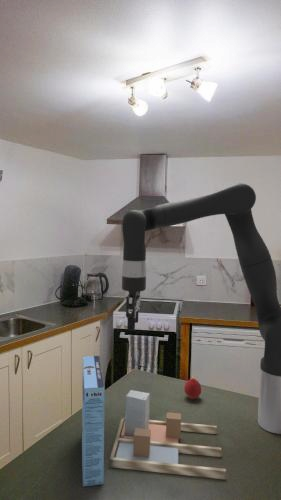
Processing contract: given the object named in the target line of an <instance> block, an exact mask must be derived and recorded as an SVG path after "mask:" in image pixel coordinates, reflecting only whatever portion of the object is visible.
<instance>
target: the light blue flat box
mask: <svg viewBox="0 0 281 500" xmlns="http://www.w3.org/2000/svg"><path fill="white" fill-rule="evenodd" d="M105 390H106V388H105V383H104V377H103V371H102V365H101V358H100V355H89V356H88V355H87V356H83V357H82V393H81V394H82V395H81V398H82V399H81V402H82V404H81V405H82V406H81V407H82V408H81V411H82V412H81V413H82V414H81V417H82V418H81V421H82V422H81V429H82V430H81V433H82V434H81V447H82V448H81V450H82V451H81V457H82V460H81V461H82V467H81V468H82V487H91V486H98V485H100V486H101V485H103V484H104V475H105V474H104V472H105V471H104V469H105V468H104V467H105V465H104V464H105V459H104V458H105V456H104V455H105V393H106V392H105Z"/></svg>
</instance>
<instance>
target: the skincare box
mask: <svg viewBox="0 0 281 500" xmlns="http://www.w3.org/2000/svg"><path fill="white" fill-rule="evenodd" d="M150 395H151V394H150V392H143V391H139V390H135V389H130V390H129V391H128V393H127V394H125V415H124V416H125V417H124V418H125V429H126V430H125V436H129V437H134V432H135V428H140V429H149V420H150V403H151V402H150V401H151V399H150V397H151V396H150Z"/></svg>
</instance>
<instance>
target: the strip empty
mask: <svg viewBox="0 0 281 500" xmlns="http://www.w3.org/2000/svg"><path fill="white" fill-rule="evenodd" d="M150 434H151V429H140V428H135V432H134V444H131V443H119V447H118V450H117V453H116V457H115V458H124V459H134V460H144V461H153V462H163V463H173V464H179V453H178V448H171V447H161V446H151V445H150Z"/></svg>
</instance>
